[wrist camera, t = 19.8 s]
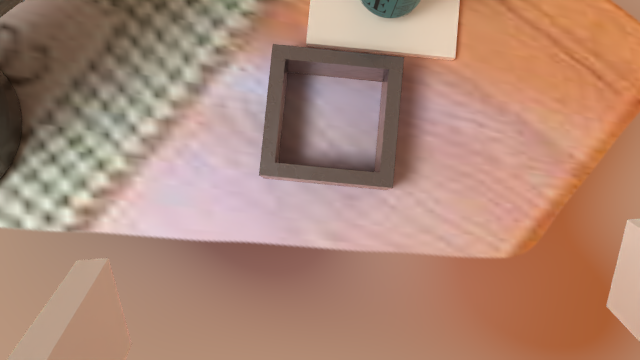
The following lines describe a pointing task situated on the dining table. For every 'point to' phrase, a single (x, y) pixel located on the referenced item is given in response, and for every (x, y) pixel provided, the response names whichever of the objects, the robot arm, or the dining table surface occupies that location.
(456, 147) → the dining table surface
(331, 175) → the bottle holder
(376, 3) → the beverage bottle
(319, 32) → the coaster pad
